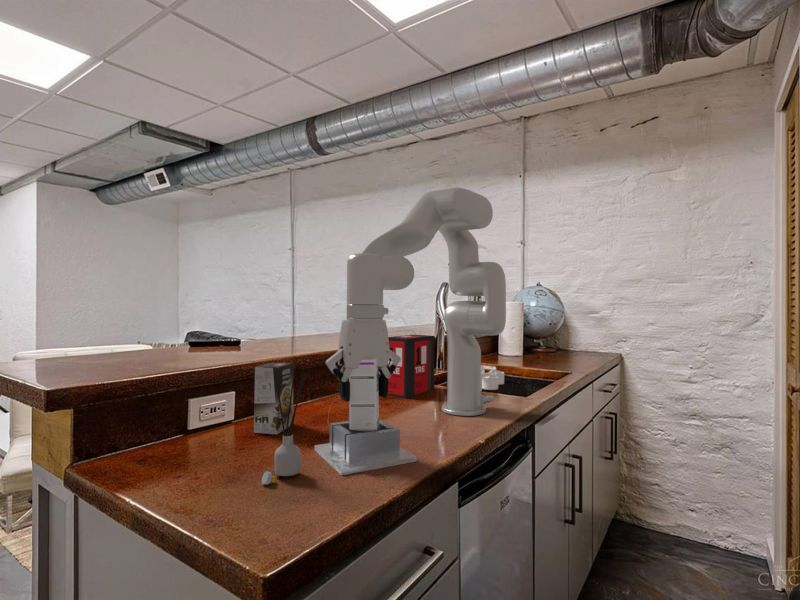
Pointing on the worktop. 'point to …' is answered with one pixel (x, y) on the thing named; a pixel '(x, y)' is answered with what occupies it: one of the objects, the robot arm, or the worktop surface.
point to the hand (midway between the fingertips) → (364, 397)
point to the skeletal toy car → (491, 378)
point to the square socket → (363, 448)
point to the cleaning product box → (412, 365)
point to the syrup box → (364, 396)
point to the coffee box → (272, 397)
